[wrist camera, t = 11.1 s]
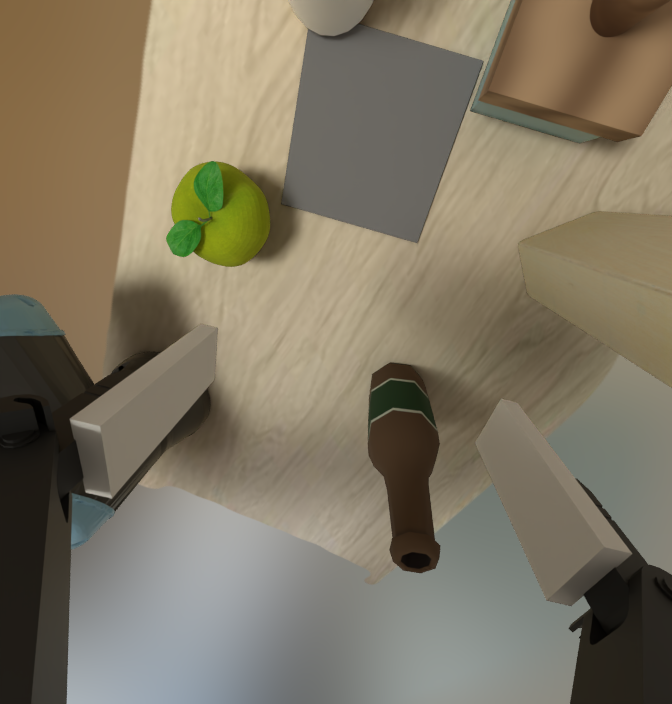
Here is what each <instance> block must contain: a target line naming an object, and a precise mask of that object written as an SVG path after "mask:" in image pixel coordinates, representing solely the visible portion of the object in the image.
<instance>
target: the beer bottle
mask: <svg viewBox="0 0 672 704" xmlns="http://www.w3.org/2000/svg"><path fill="white" fill-rule="evenodd" d="M439 444H440V443H439V437H438V431H437V427H436V424H435V420H434V416H433V413H432V409H431V405H430V402H429V398H428V394H427V391H426V387H425V385H424V382H423V380H422V379H421V377H420V376H419V375H418V374H417V373H416V372H415V370H414V369H413V368H412V367H411V366H410V365H402V364H393V363H389V364H387V365H386V366H384V367H383V368H381V369H380V370H378V371H377V372H375V373H374V374H372V381H371V388H370V395H369V419H368V453H369V457H370V459H371V461H372V463H373V466H374V467H375V468H376V469H377V470H378V471H379V472H380V473H381V474H382V475H383V476H384V480H385V484H386V487H387V493H388V502H389V511H390V519H391V528H392V537H393V538H392V542H391V546H390V553H391V556H392V559H393V562H394V563H395V564H397V565H398V566H399V567H400V568H401V569H402V570H404V571H410V572H416V573H423V572H426V571H429V570H432V569H435V568H436V565H437V563H438V560H439V555H440V545H439V544H438V543H437V542H436V541H435V538H434V528H433V520H432V511H431V502H430V493H429V485H428V482H429V477H430V475H431V474H432V471H433V468H434V464H435V461H436V457H437V453H438V449H439Z"/></svg>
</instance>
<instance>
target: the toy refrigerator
mask: <svg viewBox="0 0 672 704" xmlns="http://www.w3.org/2000/svg"><path fill="white" fill-rule="evenodd" d="M518 249H519V254H520V259H521V264H522V270H523V275H524V280H525V285H526V290H527V294H528V295H529V296H530V297H532V298H533V299H535V300H536V301H538V302H539V303H541V304H542V305H544V306H545V307H547V308H548V309H550V310H552V311H553V312H555V313H556V314H558V315H559V316H561V317H562V318H564V319H566V320H567V321H569V322H570V323H572V324H573V325H575V326H577V327H578V328H580V329H581V330H583V331H584V332H586V333H588V334H589V335H591V336H592V337H594V338H595V339H597V340H599V341H600V342H602V343H603V344H605V345H606V346H608V347H609V348H611V349H612V350H614V351H615V352H617V353H619V354H620V355H622V356H623V357H625V358H626V359H628V360H629V361H631V362H632V363H634V364H635V365H637V366H639V367H640V368H642V369H643V370H645V371H646V372H648V373H649V374H651V375H652V376H654V377H655V378H657V379H659V380H660V381H662V382H663V383H665V384H666V385H668V386H669V387H671V388H672V216H666V215H649V214H632V213H616V212H594V213H591V214H588V215H586V216H583V217H581V218H578V219H575V220H573V221H570V222H568V223H565V224H563V225H560V226H558V227H555V228H552V229H550V230H547V231H545V232H542V233H540V234H537V235H535V236H532V237H530V238H527V239H525V240H522V241H520V242H519V243H518Z"/></svg>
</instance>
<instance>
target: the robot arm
mask: <svg viewBox="0 0 672 704" xmlns="http://www.w3.org/2000/svg"><path fill="white" fill-rule="evenodd" d="M217 334H218V328H216V327H212V326H208V325H204V324H200V325H198V326H197V327H196V328H194V329H193V330H192V331H190V332H189V333H187V334H186V335H185V336H183V337H182V338H180V339H179V340H178V341H176V342H175V343H174V344H172V345H171V346H169V347H168V348H167V349H165V350H164V351H163V352H161V353H156V352H143V353H138V354H135V355H133V356H131V357H130V358H128V359H127V360H125V361H123V362H122V363H120V364H119V365H118V366H117V367H116V368H115V369H114V370H113V372H112V373H111V375H108V376H107V377H105V378H104V379H102V380H101V381H99V382H98V383H96V384H95V385H94V383H93V381H92V380H91V379H90V377H89V375H88V373H87V372H86V370H85V369H84V367H83V365H82V364H81V362H80V361H79V359H78V358H77V356H76V354H75V353H74V351H73V350H72V348H71V346H70V344H69V343H68V341H67V339H66V338H65V336H64V335H65V333H64V331H63V330H60V329H59V327H58V326H57V325H56V323H55V322H54V320H53V319H52V318H51V316H50V315H49V313H48V312H47V311H46V309H45V308H44V306H43V305H42V304H41V303H40V302H38V301H37V300H35V299H33V298H31V297H28V296H24V295H4V296H0V704H66V700H67V699H66V698H67V665H68V633H69V632H68V631H69V598H70V597H69V596H70V563H71V550H72V549H75V548H77V547H79V546H81V545H82V544H84V543H85V542H86V541H88V540H89V539H90V538H91V537H92V536H93V535H94V534H95V532H96V531H97V530H98V529H99V528H100V527H101V526H102V525H103V524H104V523H105V522H106V521H107V520H108V519H110V518H111V517H112V516H113V515H114V513H115V511H116V509H118V507H119V506H120V505H121V504H122V502H123V501H124V500H125V499H126V498H127V496H128V495H129V494H130V493H131V492H132V490H133V489H134V488H135V487H136V485H137V484H138V483H139V482H140V481H141V479H142V478H143V477H144V476H145V474H146V473H147V472H148V471H149V470H150V468H151V467H152V466H153V465H154V464H155V462H156V461H157V460H158V459H159V458H160V456H161V455H162V454H163V453H164V452H165V451H166V450H167V449H169V448H170V447H172V446H173V445H175V444H177V443H178V442H180V441H181V440H183V439H184V438H186V437H188V436H190V435H192V434H193V433H194V432H195V431H197V430H198V429H199V427H200V426H201V425H202V424H203V422H204V421H205V420H206V418H207V416H208V414H209V411H210V398H209V394H208V391H207V388H208V387H209V385H210V384H211V383H212V382H213V381H214V380H215V369H216V351H217ZM475 444H476V447H477V449H478V451H479V453H480V455H481V458H482V460H483V462H484V464H485V466H486V469H487V471H488V473H489V475H490V477H491V480H492V482H493V484H494V486H495V488H496V490H497V493H498V495H499V497H500V499H501V501H502V504H503V506H504V508H505V510H506V512H507V515H508V517H509V519H510V521H511V523H512V526H513V528H514V530H515V532H516V534H517V537H518V539H519V541H520V543H521V545H522V548H523V550H524V552H525V554H526V556H527V558H528V561H529V563H530V565H531V567H532V570H533V572H534V574H535V576H536V578H537V581H538V583H539V585H540V587H541V589H542V591H543V594H544V596H545V598H546V600H547V601H551V602H555V603H560V604H564V605H568V606H572V605H573V604H574V603H575V602H577V601H578V600H579V599H580V598H581V597H582V596H585V598H586V600H587V602H588V604H589V605H590V607H591V608H590V609H589V610H588V611H587V612H586V613H584V614H583V615H582V616H581V617H579V618H578V619H577V620H576V621H574V622H573V623H572V624H571V626H570V627H569V629H570V630H571V631H572V632H574V631H575V630H576V629H578V628H582V631H581V636H580V637H579V638H580V644H579V651H578V657H577V663H576V669H575V676H574V682H573V689H572V695H571V701H570V704H672V575H671V574H669V573H668V572H666V571H664V570H662V569H660V568H658V567H655V566H652V565H648V564H647V562H646V561H645V560H644V558H643V557H642V556H641V555H640V553H639V552H638V551H637V550H636V548H635V547H634V546H633V545H632V543H631V542H630V541H629V539H628V538H627V537H626V535H625V534H624V533H623V532H622V530H621V529H620V528H619V527H618V525H617V524H616V523H615V521H613V520H611V516H610V515H609V514H608V512H607V511H606V510H605V509H603V508H602V505H601V504H600V502H599V501H598V500H597V499H596V497H595V496H594V495H593V493H592V492H591V491H590V490H589V489H588V488H586V487H585V486H584V485H583V484H582V483H581V482H580V481H579V480H578V479H576V478H574V476H573V475H572V474H571V472H570V471H569V470H568V469H567V467H566V466H565V465H564V463H563V462H562V461H561V459H560V458H559V457H558V455H557V454H556V453H555V452H554V450H553V449H552V447H551V446H550V445H549V444H548V443H547V441H546V440H545V438H544V437H543V436H542V434H541V433H540V432H539V430H538V429H537V428H536V426H535V425H534V424H533V423H532V421H531V420H530V419H529V417H528V416H527V415H526V413H525V412H524V411H523V409H522V408H521V407H520V405H519V404H518V403H517V402H513V401H509V400H505V399H500V401H499V403H498V404H497V406H496V408H495V410H494V411H493V413H492V415H491V416H490V418H489V420H488V421H487V423H486V425H485V426H484V428H483V430H482V432H481V433H480V435H479V437H478V438H477V440H476V442H475Z"/></svg>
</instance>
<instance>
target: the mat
mask: <svg viewBox="0 0 672 704" xmlns="http://www.w3.org/2000/svg"><path fill="white" fill-rule="evenodd" d="M482 63H483V61H482V60H479V59H475V58H472V57H469V56H465V55H462V54H459V53H455V52H452V51H448V50H445V49H442V48H438V47H435V46H432V45H428V44H425V43H422V42H418V41H415V40H411V39H408V38H405V37H401V36H398V35H395V34H391V33H388V32H384V31H381V30H378V29H374V28H371V27H368V26H364V25H361V24H357V25H355V26H354V27H353V28H352V29H351V30H349V31H348V32H345V33H342V34H339V35H336V36H327V35H319V34H317V33H316V32H314V31H312V30H310V29H308V33H307V39H306V46H305V52H304V59H303V65H302V72H301V78H300V85H299V91H298V98H297V105H296V111H295V118H294V124H293V131H292V137H291V144H290V150H289V157H288V163H287V170H286V176H285V183H284V189H283V196H282V203H281V204H283V205H287V206H290V207H294V208H297V209H301V210H304V211H308V212H311V213H315V214H318V215H322V216H325V217H328V218H332V219H335V220H339V221H342V222H346V223H349V224H353V225H356V226H360V227H363V228H367V229H370V230H374V231H377V232H380V233H384V234H387V235H391V236H394V237H398V238H401V239H405V240H408V241H412V242H415V243H417V242H418V239H419V236H420V234H421V231H422V228H423V225H424V223H425V220H426V217H427V214H428V212H429V209H430V206H431V203H432V201H433V198H434V195H435V192H436V190H437V187H438V184H439V181H440V179H441V176H442V173H443V170H444V168H445V165H446V162H447V159H448V157H449V154H450V151H451V148H452V146H453V143H454V140H455V137H456V135H457V132H458V129H459V126H460V123H461V121H462V118H463V115H464V112H465V110H466V107H467V104H468V101H469V99H470V96H471V93H472V90H473V88H474V85H475V82H476V79H477V77H478V74H479V71H480V68H481V66H482Z"/></svg>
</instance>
